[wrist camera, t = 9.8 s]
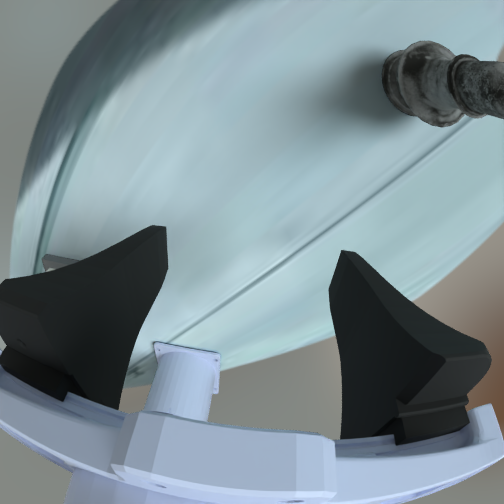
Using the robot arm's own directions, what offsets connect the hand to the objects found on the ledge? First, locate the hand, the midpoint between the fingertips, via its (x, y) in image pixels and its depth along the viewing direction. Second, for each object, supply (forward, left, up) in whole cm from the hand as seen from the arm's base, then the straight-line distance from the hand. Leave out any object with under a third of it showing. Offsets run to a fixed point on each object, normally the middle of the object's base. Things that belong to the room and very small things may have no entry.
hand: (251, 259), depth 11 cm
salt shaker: (+10, -10, -11) cm, 18 cm away
